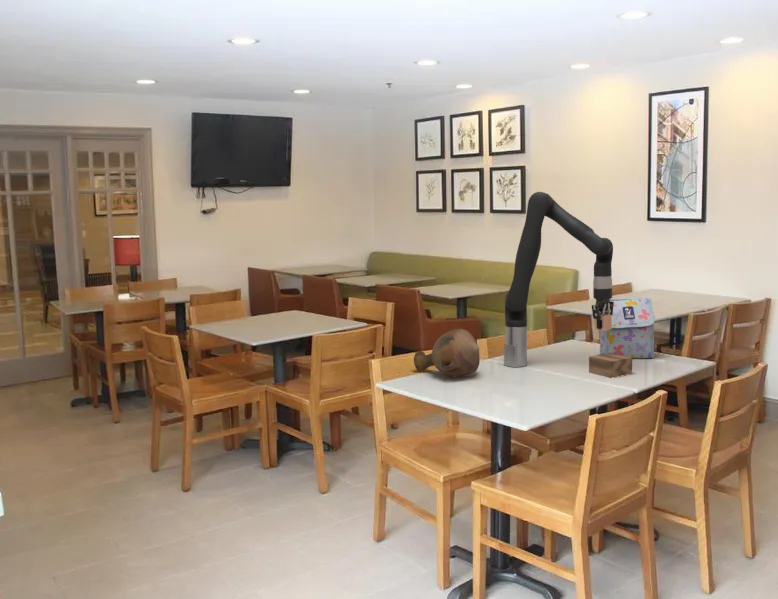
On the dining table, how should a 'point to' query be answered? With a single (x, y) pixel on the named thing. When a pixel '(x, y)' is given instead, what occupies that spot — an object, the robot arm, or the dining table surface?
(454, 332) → the jug
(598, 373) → the walnut box
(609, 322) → the terracotta block
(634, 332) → the lunch bag
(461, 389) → the dining table surface
